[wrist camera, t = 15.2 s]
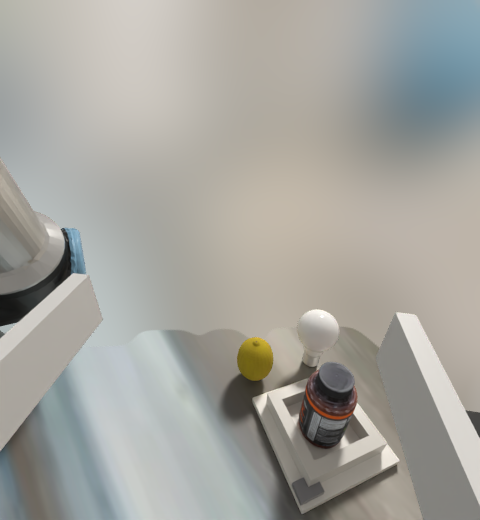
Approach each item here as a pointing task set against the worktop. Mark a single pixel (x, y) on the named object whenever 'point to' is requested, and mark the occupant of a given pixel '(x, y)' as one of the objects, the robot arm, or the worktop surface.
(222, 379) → the worktop surface
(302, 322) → the lightbulb
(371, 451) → the socket
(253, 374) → the lemon
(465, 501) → the robot arm
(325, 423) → the supplement bottle
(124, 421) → the worktop surface
